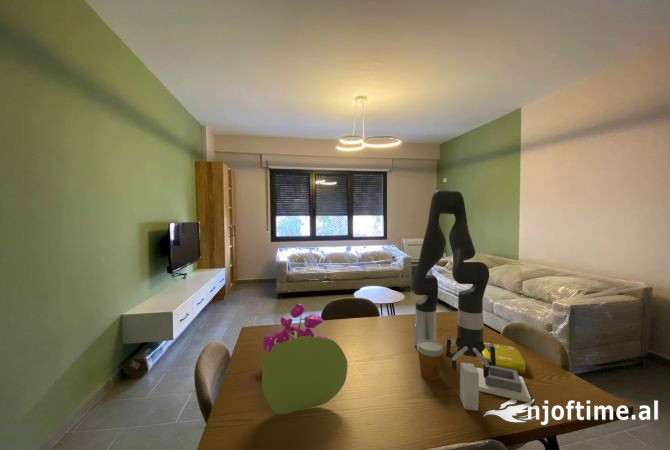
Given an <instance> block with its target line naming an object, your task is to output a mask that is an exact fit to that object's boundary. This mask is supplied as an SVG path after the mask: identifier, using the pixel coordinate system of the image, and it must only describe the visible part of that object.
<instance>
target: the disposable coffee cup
mask: <svg viewBox="0 0 670 450" xmlns="http://www.w3.org/2000/svg"><path fill="white" fill-rule="evenodd" d="M416 349H417V352H418V360H419V361H418V362H419V369H420V376H421V377H422V378H423V379H424V380H426V381H437V380H438V379H439V377H440V370H441V369H440V368H441V362H442V356H443V353H444V348H443V345H442V344H441V343H439V342H438V341H436V342H435V341H432V340H421V341H419V342H418V345H417V346H416Z"/></svg>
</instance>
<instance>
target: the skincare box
mask: <svg viewBox="0 0 670 450" xmlns="http://www.w3.org/2000/svg"><path fill="white" fill-rule="evenodd" d="M459 367H460V372H459V373H460V376H459V398H460V401H461V404H462V405H463V406H462V407H463V408H464V410H469V411H479V393H480V391H479V373H478V371H477V370H476V369H477V367H475V365H474V363H469V362H468V363H467V362H460V366H459Z"/></svg>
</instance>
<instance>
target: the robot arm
mask: <svg viewBox="0 0 670 450" xmlns="http://www.w3.org/2000/svg"><path fill="white" fill-rule="evenodd" d="M441 214H442V215H453V216H454V219H455V220H454V224H453V225H452V227H451V229H450V232H449V234H448V242H449V245H450V248H451V253H452V271H451V272H452V277H453V280H454V281H455V282H456V283H457V284H459V285H471V287H470V288H467V289H463V290H460V291H459V292H458V294H457V295H458V297H457V298H458V299H457V307H458V308H457V314H456V316H457V318H456V321H457V323H456V326H457V327H456V328H457V329H456V330H457V331H456V335H457V337H456V339H455V338H451V337H450V336H447V338H446V349H445V350H446V351H445V357H446V358H448V359H451V369H452V370H453V372H456V373H457V359H458V358H460V357H461V356H462V355H464V356H466V357H472V358H476V357H478V359H479V361H480V362H481V361H482V362H483V365H482V367H483V368H482V369H483V376H484V378H486V376H489V366H496V358H495V348H494V345H493V344H494V343H491V344H490V345H486V344H484V343H485V342H484V314H483V311H484V310H483V307H484V305H483V304H484V303H483V301H484V300H483V299H484V295H485V292H486V289H487V286H488V284H489V283H488V282H489V279H490V270H489V267H488V266H487V264H485V263H484V262H481V261H468V260H471V259H473V258H474V257H475V255H476V249H475V247H474V243H473V241H472V237H471V235H470V230H469V226H468V218H467V212H466V204H465V199H464V196H463V194H462V193H461V192H460V191H457V190H445V189H436V190H435V191H434V192H433V194H432V196H431V200H430V207H429V213H428V218H427V225H426V228H425V229H426V230H425V233H424V238H423V241H422V244H421V249H420V255H419V258H418V262H417V266H416V269H415V271H414V274H413V277H412V281H411V288H412V289H411V290H412V292H413V294H415V295H417V296H424V297H422V298H421V299H418V300H417V301H416V302H415V324H414V346H415V347H417V345H418V342H419V341H421V340H432V341H435V342H437V305H438V295H439V294H438V293H439V281H438V279H437V277H436V276H435V275H434V274H428V273H429V272H430V270H431V269H433V268H434V266H436V265H437V264H438V263H439V262H440V260H442V258H443V257H444V254H445V253H444V252H445V250H446V245H447V240H446V237H445V234H444V233H443V231H442V228H441V226H440V225H441V224H440V216H441ZM483 342H484V343H483ZM454 344H455V345H456V347H457V348H456V350H455V351H454V352H453V353H452V352H451V347H453V346H454ZM485 348H486V349H487V351H488V352H489V353H490V360H487V359H486V357H485V356H484V354H483V353H482V351H483V350H484V349H485Z"/></svg>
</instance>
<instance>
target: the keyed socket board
mask: <svg viewBox="0 0 670 450" xmlns="http://www.w3.org/2000/svg"><path fill="white" fill-rule="evenodd" d="M476 370H477V371H478V373H479V392H481V393H486V394H491V395H495V396H499V397H503V398H508V399H512V400H516V401H521V402H526V403H529V404H531V403H532V397H531V395H530V392H529V390H528V387H527V384H526V382H525V380H524V378H523V376H520V375H519V373H517V370H511V369H506V368H501V367H496V366H489V376H486V378H484V376H483V368H480V367H476Z"/></svg>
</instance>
